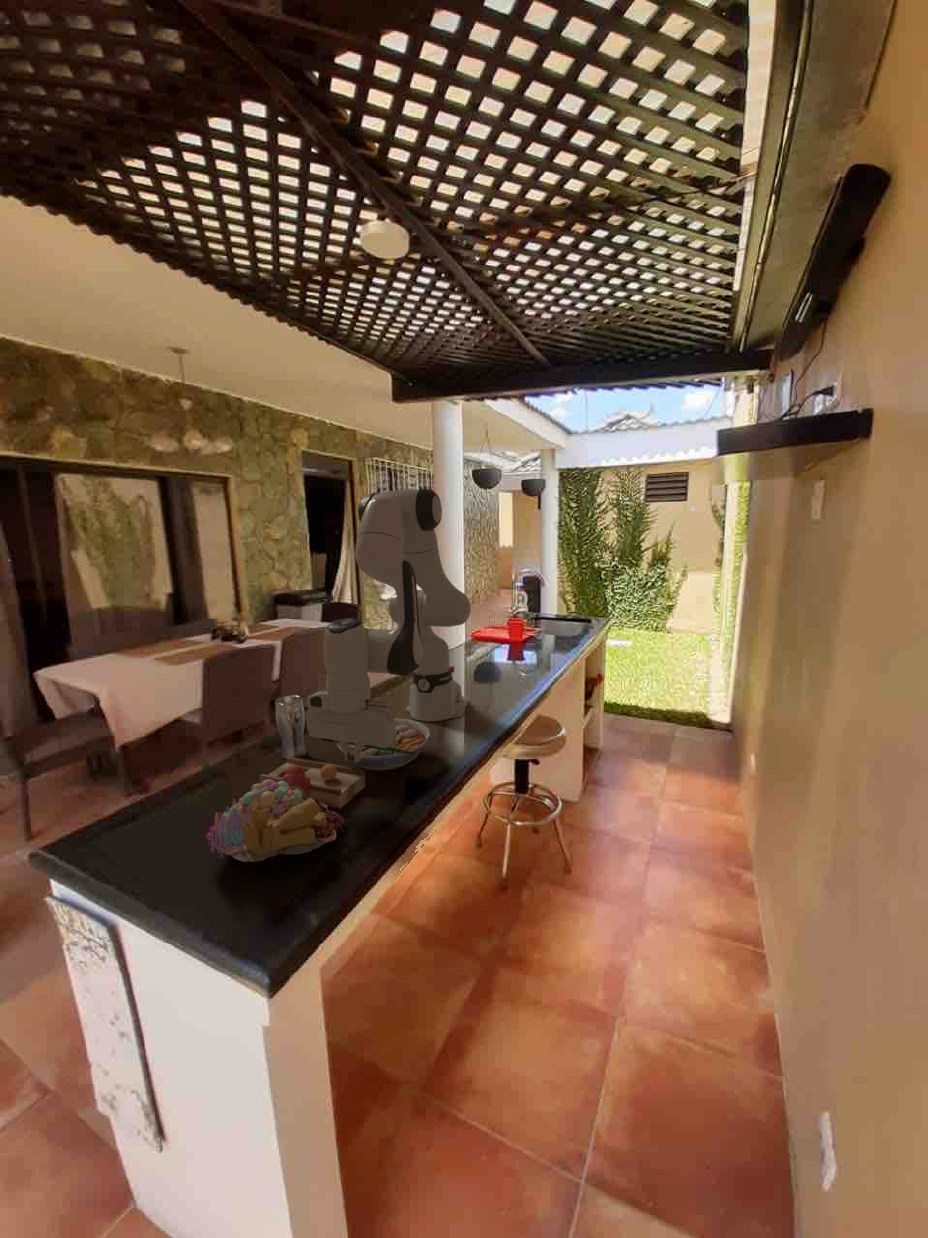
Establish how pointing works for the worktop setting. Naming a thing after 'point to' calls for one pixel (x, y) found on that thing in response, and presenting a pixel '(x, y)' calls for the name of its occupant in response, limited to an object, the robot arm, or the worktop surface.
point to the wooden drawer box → (325, 791)
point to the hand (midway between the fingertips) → (353, 760)
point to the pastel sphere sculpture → (274, 821)
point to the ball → (328, 772)
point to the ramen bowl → (394, 747)
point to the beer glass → (291, 725)
